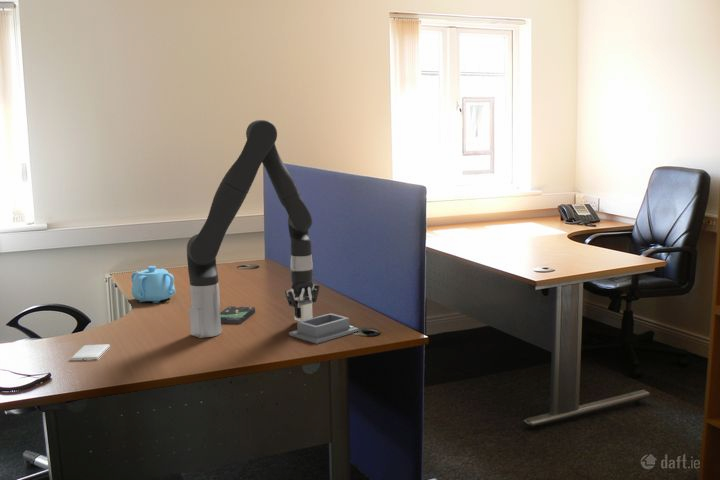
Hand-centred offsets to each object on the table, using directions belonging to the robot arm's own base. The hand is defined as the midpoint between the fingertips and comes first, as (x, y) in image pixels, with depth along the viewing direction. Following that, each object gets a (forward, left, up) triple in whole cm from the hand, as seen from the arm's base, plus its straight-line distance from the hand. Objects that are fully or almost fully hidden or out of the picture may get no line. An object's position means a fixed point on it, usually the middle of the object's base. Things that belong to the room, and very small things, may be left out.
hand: (303, 316), depth 258 cm
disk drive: (-12, +24, -3) cm, 27 cm away
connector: (0, 0, -1) cm, 1 cm away
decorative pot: (-18, +72, -3) cm, 74 cm away
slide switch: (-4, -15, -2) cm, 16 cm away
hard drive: (-66, +23, -3) cm, 70 cm away
